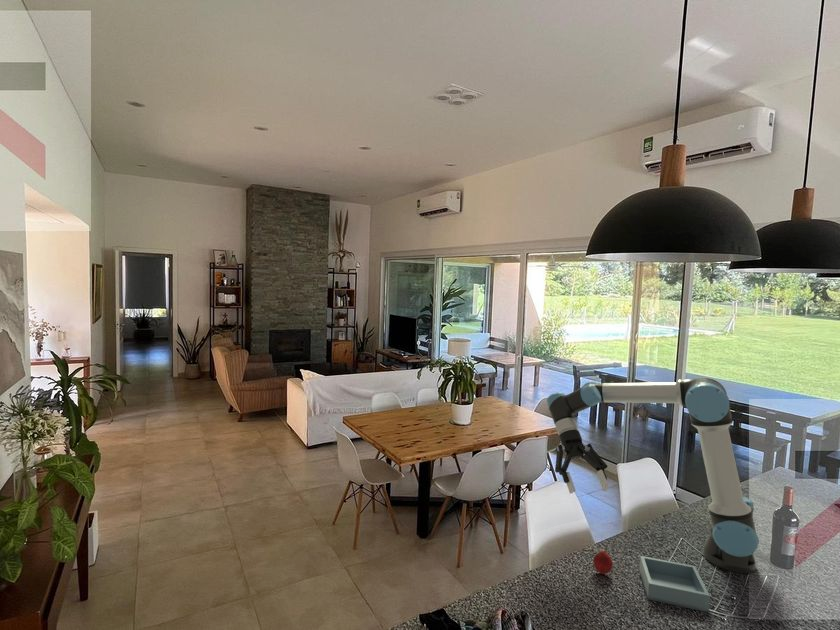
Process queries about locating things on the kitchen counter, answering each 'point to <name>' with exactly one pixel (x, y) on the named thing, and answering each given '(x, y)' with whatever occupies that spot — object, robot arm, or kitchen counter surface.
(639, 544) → the kitchen counter surface
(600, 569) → the onion
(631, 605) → the kitchen counter surface
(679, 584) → the bin
